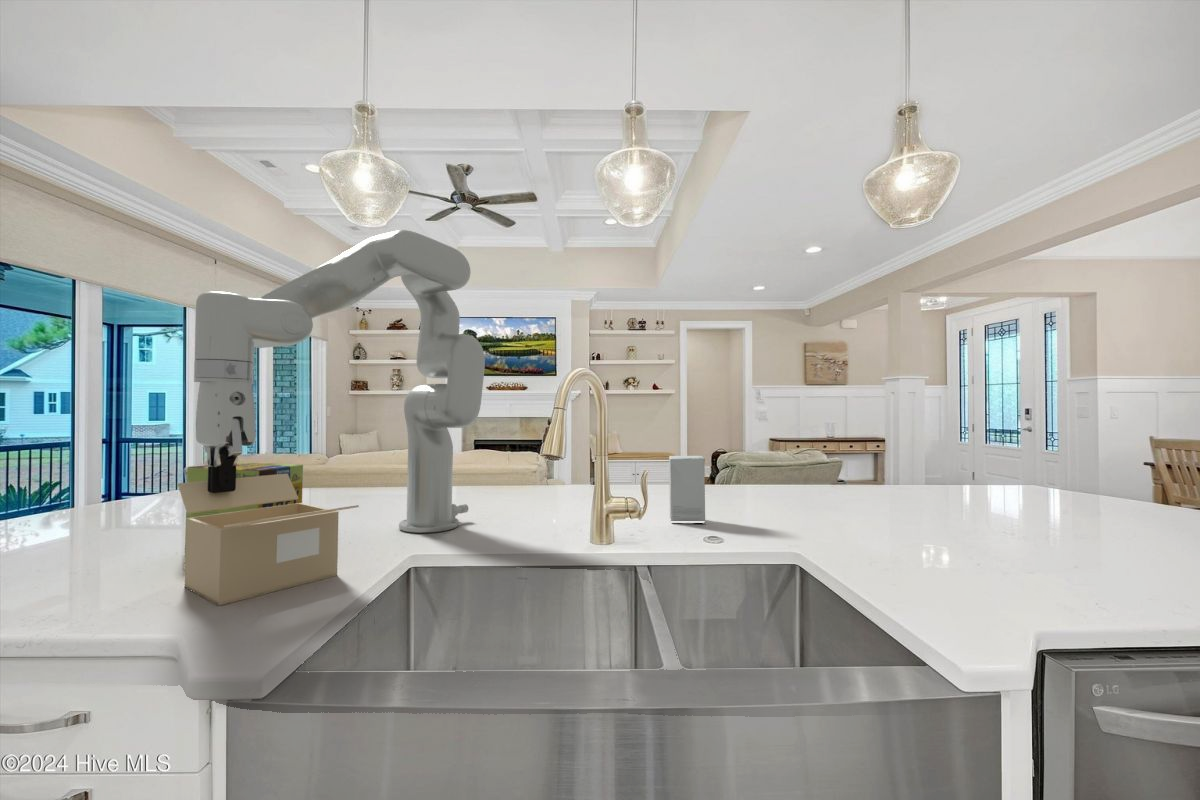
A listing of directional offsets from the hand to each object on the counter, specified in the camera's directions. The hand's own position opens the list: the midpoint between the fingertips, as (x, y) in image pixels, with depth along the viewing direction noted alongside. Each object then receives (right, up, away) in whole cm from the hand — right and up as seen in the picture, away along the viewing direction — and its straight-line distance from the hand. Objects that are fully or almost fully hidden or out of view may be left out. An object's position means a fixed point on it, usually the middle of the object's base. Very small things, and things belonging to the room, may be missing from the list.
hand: (221, 491), depth 82 cm
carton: (+8, -13, -2) cm, 16 cm away
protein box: (-6, -14, +15) cm, 21 cm away
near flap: (+16, -2, -7) cm, 17 cm away
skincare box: (+79, -15, +44) cm, 92 cm away
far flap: (+1, 0, +3) cm, 3 cm away
